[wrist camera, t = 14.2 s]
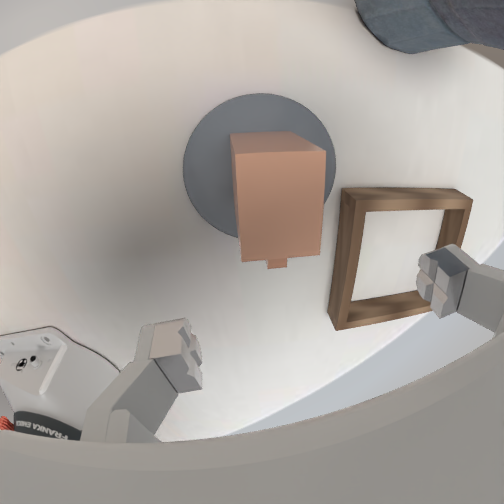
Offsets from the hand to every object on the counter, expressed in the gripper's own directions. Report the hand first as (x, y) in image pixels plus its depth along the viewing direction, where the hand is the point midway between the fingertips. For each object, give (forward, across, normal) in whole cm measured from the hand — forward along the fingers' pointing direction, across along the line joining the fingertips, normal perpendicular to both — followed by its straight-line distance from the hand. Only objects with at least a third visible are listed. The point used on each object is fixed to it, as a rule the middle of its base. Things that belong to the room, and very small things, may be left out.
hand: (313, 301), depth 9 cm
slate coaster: (+16, -1, -1) cm, 16 cm away
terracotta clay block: (+15, -1, -1) cm, 15 cm away
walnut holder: (+16, -13, +11) cm, 23 cm away
